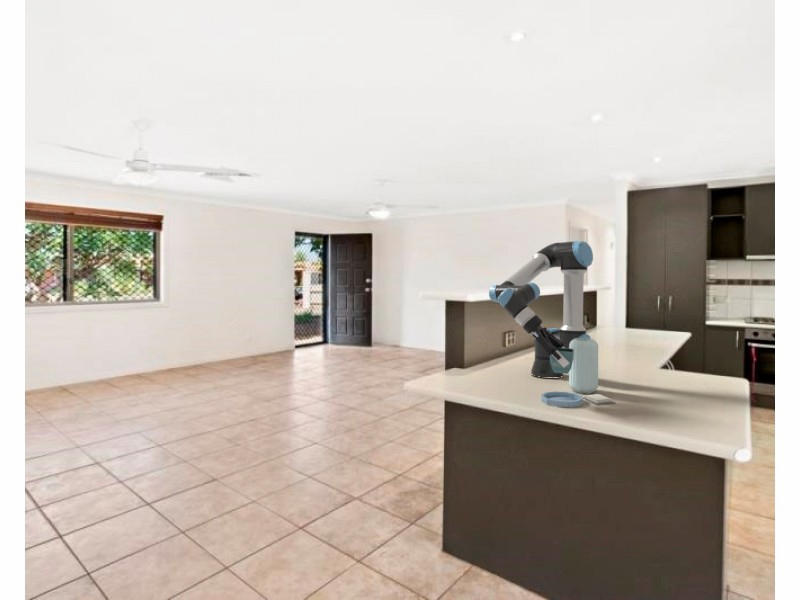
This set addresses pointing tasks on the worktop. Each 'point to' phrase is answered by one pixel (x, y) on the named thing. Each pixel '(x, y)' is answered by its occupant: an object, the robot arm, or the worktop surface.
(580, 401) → the dish
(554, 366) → the flower pot
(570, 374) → the vase
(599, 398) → the mat with cloth
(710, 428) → the worktop surface
